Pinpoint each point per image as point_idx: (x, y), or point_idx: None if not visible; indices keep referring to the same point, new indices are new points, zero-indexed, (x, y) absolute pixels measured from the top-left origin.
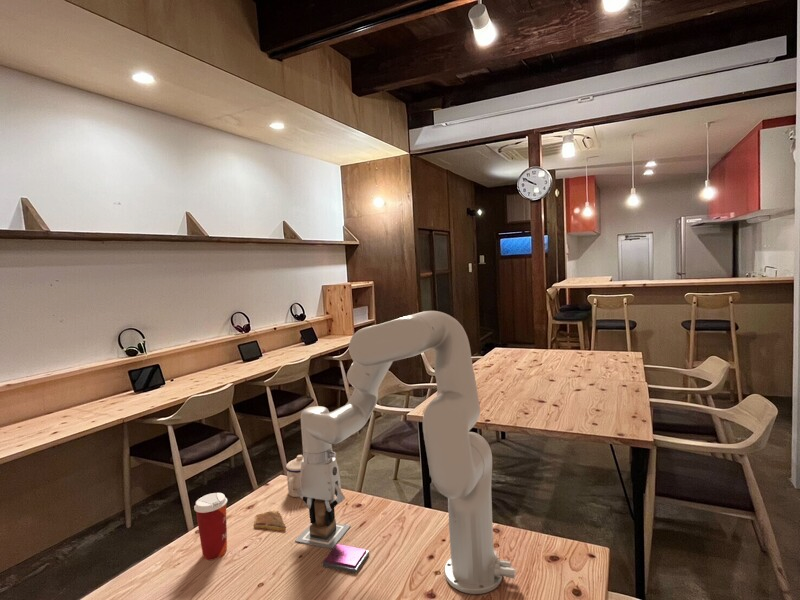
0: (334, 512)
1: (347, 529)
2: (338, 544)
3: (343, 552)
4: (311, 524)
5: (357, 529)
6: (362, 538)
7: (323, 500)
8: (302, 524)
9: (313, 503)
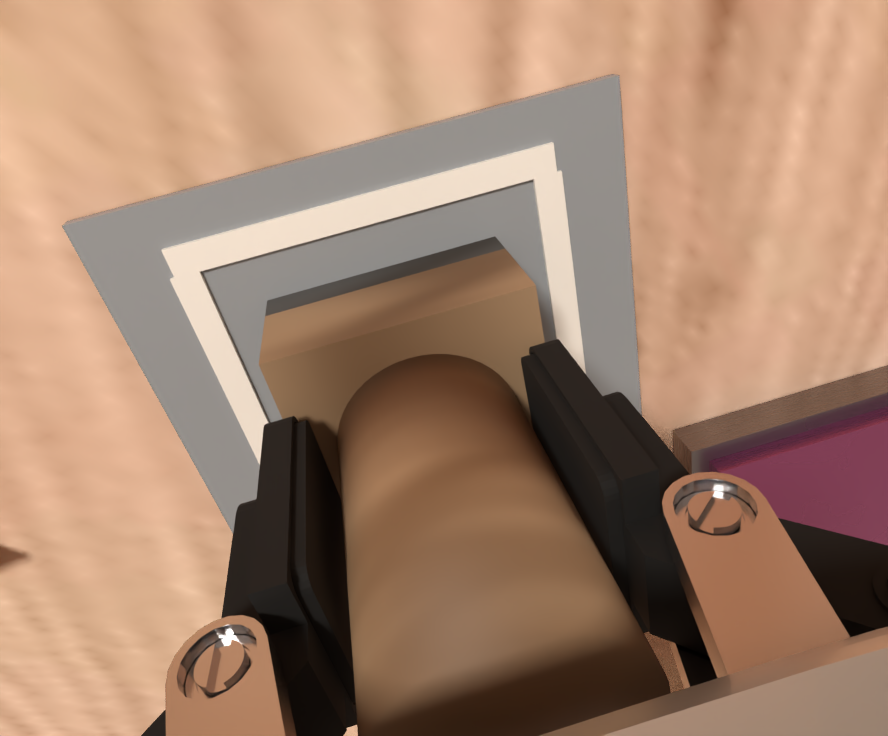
0: (661, 440)
1: (624, 164)
2: (732, 466)
3: (821, 504)
4: (130, 332)
5: (724, 75)
6: (843, 191)
7: (559, 710)
8: (4, 368)
9: (310, 717)
